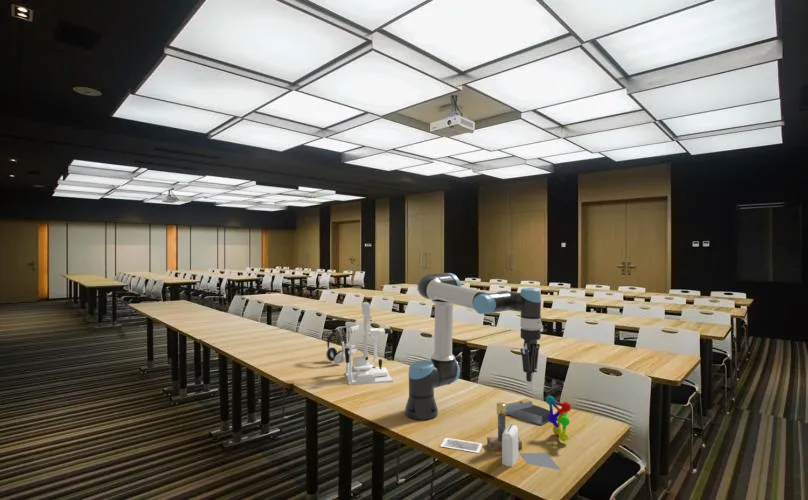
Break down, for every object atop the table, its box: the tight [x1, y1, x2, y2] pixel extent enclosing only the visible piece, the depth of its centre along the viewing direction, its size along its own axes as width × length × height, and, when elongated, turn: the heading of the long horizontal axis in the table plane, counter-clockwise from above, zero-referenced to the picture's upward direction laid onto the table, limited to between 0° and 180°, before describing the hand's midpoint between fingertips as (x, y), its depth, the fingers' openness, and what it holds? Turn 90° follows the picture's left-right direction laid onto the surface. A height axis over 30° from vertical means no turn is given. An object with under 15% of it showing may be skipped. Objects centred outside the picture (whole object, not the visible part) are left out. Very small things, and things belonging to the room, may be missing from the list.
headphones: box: [325, 332, 346, 364], centre depth 280 cm, size 19×8×20 cm, turn 44°
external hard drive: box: [506, 404, 550, 426], centre depth 188 cm, size 12×18×4 cm
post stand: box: [486, 414, 523, 451], centre depth 158 cm, size 12×5×13 cm, turn 94°
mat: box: [520, 452, 562, 471], centre depth 145 cm, size 10×14×1 cm
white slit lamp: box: [344, 301, 394, 386], centre depth 246 cm, size 24×27×45 cm
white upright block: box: [501, 423, 519, 467], centre depth 148 cm, size 10×4×12 cm, turn 152°
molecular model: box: [545, 395, 572, 442], centre depth 165 cm, size 15×10×15 cm, turn 5°
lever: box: [496, 398, 533, 416], centre depth 160 cm, size 16×4×4 cm, turn 114°
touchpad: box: [439, 437, 483, 454], centre depth 158 cm, size 8×15×2 cm, turn 69°
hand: (530, 388), depth 160 cm, fingers closed
